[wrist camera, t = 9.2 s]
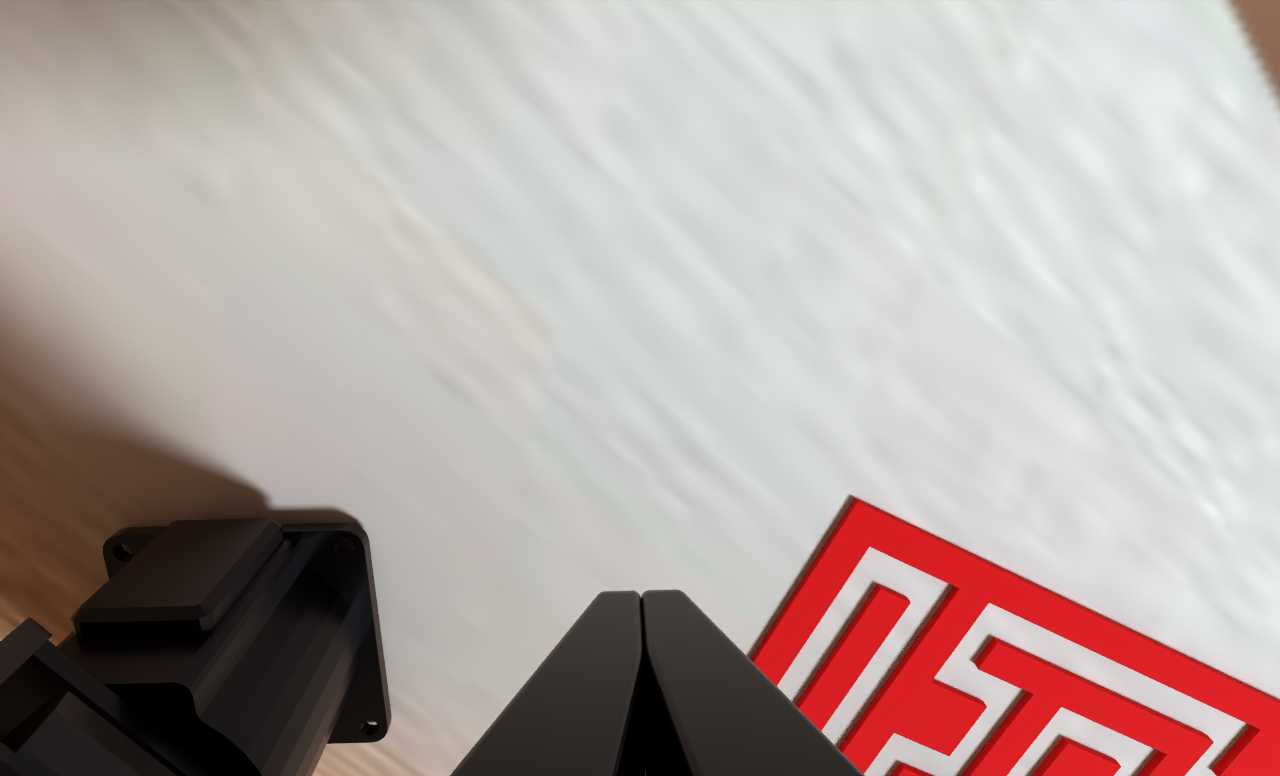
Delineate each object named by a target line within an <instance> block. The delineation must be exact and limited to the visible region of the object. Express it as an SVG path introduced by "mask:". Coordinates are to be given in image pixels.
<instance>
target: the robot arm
mask: <svg viewBox="0 0 1280 776" xmlns="http://www.w3.org/2000/svg"><path fill="white" fill-rule="evenodd" d="M341 539H346V540H349V541H351V542H352V543H353V545H354V547H355V548H354V549H346V548H344V547H343V546H342V545H341V544H340V541H339V540H341ZM122 544H124V545H127V546H129V547H130V548H131V549H132V551H133V552H134V554H130V553H128V552H126V551H125V550H124V549H123V547H122ZM103 556H104V560H105V564H106V568H107V572H108V576H109V581H108V582H107V583H106V584H104V585H103V586H102V587H101V588H100V589H99V590H98V591H97V592H96V593H95V594H93V595H92V596H91V597H90V598H89V599H88V600H87V601H86V602H85V603H84V604H83V605H81V606H80V608H79V609H78V610H77V611H76V612H75V613H74V614H73V616H72V617H71V622H72V626H73V630H74V631H73V632H72V633H71V634H70V635H68V636H67V637H66V638H65V639H64V640H63V641H62V642H61V643H60V644H59V645H58V646H57V647H56V646H55V645H54V644H52V643H51V642H50V641H49V640H48V639H49V638H50V637H51V636H52V634H50V633H49V632H48V631H47V630H45V629H44V628H43V627H42V626H40V625H39V624H38V623H36V622H35V621H34V620H33V619H31V618H30V617H29V618H28V619H27V620H25V621H24V622H23V623H22V624H21V625H19V626H18V627H17V628H16V629H15V630H13V631H12V632H11V633H10V634H9V635H8V636H6V637H5V638H4V639H3V640H2V641H0V776H312V774H313V772H314V770H315V768H316V766H317V764H318V761H319V759H320V757H321V755H322V753H323V751H324V748H325V746H326V744H332V743H368V742H376V741H379V740H381V739H382V738H384V737H385V735H386V734H387V732H388V729H389V726H390V724H391V709H390V701H389V693H388V685H387V678H386V670H385V662H384V654H383V646H382V638H381V630H380V623H379V615H378V607H377V599H376V591H375V583H374V576H373V568H372V560H371V552H370V544H369V539H368V536H367V533H366V532H365V531H364V530H363V529H362V528H361V527H359V526H358V525H356V524H352V523H315V524H280V523H279V522H277V521H275V520H273V519H270V518H266V519H221V520H178V521H174V522H172V523H171V524H170V525H169V526H168V527H134V528H124V529H120V530H119V531H117V532H116V533H115V534H114V535H112V536H111V537H110V538H109V539H108V540H106V542H105V544H104V546H103ZM365 720H373V721H375V722H376V723H377V725H372V724H369V723H367V722H366V721H365ZM450 776H864V774H863V773H862V772H861V771H860V770H859V769H858V768H857V767H856V766H855V765H854V764H853V763H852V762H851V761H850V760H849V759H848V758H847V757H846V756H845V755H844V754H843V753H842V752H841V751H840V750H839V749H838V748H837V747H836V746H835V745H834V744H833V743H832V742H831V741H830V740H829V739H828V738H827V737H826V736H825V735H824V734H823V733H822V732H821V731H820V730H819V729H818V728H817V727H816V726H815V725H814V724H813V723H812V722H811V721H810V720H809V719H808V718H807V717H806V716H805V715H804V714H803V713H802V712H801V711H800V710H799V709H798V708H797V707H796V706H795V705H794V704H793V703H792V702H791V701H790V700H789V699H788V698H787V697H786V696H785V695H784V693H783V692H782V691H781V690H780V689H779V688H778V687H777V686H776V685H775V684H774V683H773V682H772V681H771V680H770V679H769V678H768V677H767V676H766V675H765V674H764V673H763V672H762V671H761V670H760V669H759V668H758V667H757V666H756V665H755V664H754V663H753V662H752V661H751V660H750V659H749V658H748V657H747V656H746V655H745V654H744V653H743V652H742V651H741V650H740V649H739V648H738V647H737V646H736V645H735V644H734V643H733V642H732V641H731V640H730V639H729V638H728V637H727V636H726V635H725V634H724V633H723V632H722V631H721V630H720V629H719V628H718V627H717V626H716V625H715V624H714V623H713V622H712V621H711V620H710V619H709V618H708V617H707V616H706V615H705V614H704V613H703V612H702V611H701V609H700V608H699V607H698V606H697V605H696V604H695V603H694V602H693V601H692V600H691V599H690V598H689V597H688V596H687V595H686V594H685V593H684V592H682V591H680V590H648V591H646V592H644V593H643V594H642V596H641V597H640V595H639V593H637V592H636V591H604V592H601V593H600V594H598V595H597V597H596V598H595V599H594V600H593V601H592V603H591V604H590V605H589V606H588V608H587V609H586V610H585V611H584V612H583V614H582V615H581V616H580V617H579V619H578V620H577V621H576V622H575V623H574V625H573V626H572V627H571V628H570V630H569V631H568V632H567V633H566V634H565V636H564V637H563V638H562V639H561V641H560V642H559V643H558V644H557V645H556V647H555V648H554V649H553V650H552V652H551V653H550V654H549V655H548V656H547V658H546V659H545V660H544V661H543V663H542V664H541V665H540V666H539V667H538V669H537V670H536V671H535V672H534V674H533V675H532V676H531V677H530V678H529V680H528V681H527V682H526V683H525V685H524V686H523V687H522V688H521V689H520V691H519V692H518V693H517V694H516V696H515V697H514V698H513V699H512V700H511V702H510V703H509V704H508V705H507V707H506V708H505V709H504V710H503V711H502V713H501V714H500V715H499V716H498V718H497V719H496V720H495V721H494V722H493V724H492V725H491V726H490V727H489V729H488V730H487V731H486V732H485V733H484V735H483V736H482V737H481V738H480V740H479V741H478V742H477V743H476V744H475V746H474V747H473V748H472V749H471V751H470V752H469V753H468V754H467V755H466V757H465V758H464V759H463V760H462V762H461V763H460V764H459V765H458V766H457V768H456V769H455V770H454V771H453V772H452V774H451V775H450Z"/></svg>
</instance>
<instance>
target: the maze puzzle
mask: <svg viewBox="0 0 1280 776" xmlns="http://www.w3.org/2000/svg"><path fill="white" fill-rule="evenodd" d="M869 546H870V547H872V548H874V549H876V550H878V551H880V552H882V553H885V554H887V555H889V556H891V557H893V558H895V559H897V560H899V561H902V562H904V563H906V564H908V565H910V566H912V567H914V568H917V569H919V570H921V571H923V572H925V573H927V574H929V575H932V576H934V577H936V578H938V579H940V580H942V581H944V582H946V583H949V584H951V585H953V586H954V588H953V589H952V590H951V592H950V593H949V595H948V596H947V597H946V599H945V600H944V602H943V603H942V605H941V606H940V607H939V609H938V610H937V612H936V613H935V614H934V616H933V617H932V619H931V620H930V621H929V623H928V624H927V626H926V627H925V628H924V630H923V631H922V633H921V634H920V636H919V637H918V638H917V640H916V641H915V643H914V644H913V645H912V647H911V648H910V650H909V651H908V652H907V654H906V655H905V657H904V658H903V659H902V661H901V662H900V664H899V665H898V667H897V668H896V669H895V671H894V672H893V674H892V675H891V676H890V678H889V679H888V681H887V682H886V683H885V685H884V686H883V688H882V689H881V690H880V692H879V693H878V695H877V696H876V698H875V699H874V700H873V702H872V703H871V705H870V706H869V707H868V709H867V710H866V712H865V713H864V714H863V716H862V717H861V719H860V720H859V721H858V723H857V724H856V726H855V727H854V729H853V730H852V731H851V733H850V734H849V736H848V737H847V738H846V740H845V741H844V743H843V744H842V745H841V747H840V748H839V750H840V751H841V752H842V753H843V754H844V755H845V756H846V757H847V758H848V759H849V760H850V761H851V762H852V763H853V764H854V765H855V766H856V767H857V768H858V769H859V770H860V771H861V772H862V773H863V774H864V773H865V772H866V770H867V769H868V767H869V766H870V765H871V763H872V762H873V761H874V759H875V758H876V756H877V755H878V754H879V752H880V751H881V750H882V748H883V747H884V746H885V744H886V743H887V741H888V740H889V739H890V737H891V736H892V735H893V733H896V734H898V735H901V736H903V737H905V738H908V739H910V740H912V741H915V742H917V743H919V744H922V745H924V746H926V747H929V748H931V749H933V750H936V751H938V752H940V753H943V754H945V755H947V756H950V755H951V754H952V752H953V751H954V750H955V748H956V747H957V746H958V744H959V743H960V742H961V740H962V739H963V738H964V737H965V735H966V734H967V733H968V731H969V730H970V729H971V727H972V726H973V725H974V723H975V722H976V721H977V720H978V718H979V717H980V716H981V714H982V713H983V712H984V710H985V709H986V708H987V707H986V705H985V703H984V702H983V701H981V700H979V699H977V698H975V697H972V696H970V695H968V694H966V693H963V692H961V691H959V690H957V689H954V688H952V687H950V686H948V685H945V684H943V683H941V682H939V681H936V680H934V679H933V678H934V677H935V676H936V674H937V673H938V672H939V670H940V669H941V667H942V666H943V665H944V663H945V662H946V661H947V659H948V658H949V657H950V655H951V654H952V652H953V651H954V650H955V648H956V647H957V646H958V644H959V643H960V641H961V640H962V639H963V637H964V636H965V635H966V633H967V632H968V631H969V629H970V628H971V626H972V625H973V624H974V622H975V621H976V620H977V618H978V617H979V615H980V614H981V613H982V611H983V610H984V609H985V607H986V606H987V605H988V603H991V604H993V605H996V606H998V607H1000V608H1002V609H1004V610H1006V611H1008V612H1010V613H1013V614H1015V615H1017V616H1019V617H1021V618H1023V619H1025V620H1028V621H1030V622H1032V623H1034V624H1036V625H1038V626H1040V627H1043V628H1045V629H1047V630H1049V631H1051V632H1053V633H1055V634H1057V635H1060V636H1062V637H1064V638H1066V639H1068V640H1070V641H1072V642H1075V643H1077V644H1079V645H1081V646H1083V647H1085V648H1087V649H1089V650H1092V651H1094V652H1096V653H1098V654H1100V655H1102V656H1104V657H1107V658H1109V659H1111V660H1113V661H1115V662H1117V663H1119V664H1121V665H1124V666H1126V667H1128V668H1130V669H1132V670H1134V671H1136V672H1139V673H1141V674H1143V675H1145V676H1147V677H1149V678H1151V679H1154V680H1156V681H1158V682H1160V683H1162V684H1164V685H1166V686H1168V687H1171V688H1173V689H1175V690H1177V691H1179V692H1181V693H1183V694H1186V695H1188V696H1190V697H1192V698H1194V699H1196V700H1198V701H1200V702H1203V703H1205V704H1207V705H1209V706H1211V707H1213V708H1215V709H1218V710H1220V711H1222V712H1224V713H1226V714H1228V715H1230V716H1233V717H1235V718H1237V719H1239V720H1241V721H1243V722H1245V723H1247V724H1250V725H1252V726H1251V727H1250V728H1249V729H1248V730H1247V731H1246V732H1245V733H1244V735H1243V736H1242V737H1241V738H1240V739H1239V740H1238V741H1237V743H1236V744H1235V745H1234V746H1233V747H1232V748H1231V749H1230V750H1229V752H1228V753H1227V754H1226V755H1225V756H1224V757H1223V758H1222V760H1221V761H1220V762H1219V763H1218V764H1217V765H1216V766H1215V767H1214V769H1213V770H1212V771H1213V772H1214V773H1215V774H1216V776H1280V700H1278V699H1275V698H1273V697H1271V696H1269V695H1267V694H1265V693H1263V692H1261V691H1259V690H1257V689H1254V688H1252V687H1250V686H1248V685H1246V684H1244V683H1242V682H1240V681H1238V680H1236V679H1233V678H1231V677H1229V676H1227V675H1225V674H1223V673H1221V672H1219V671H1217V670H1215V669H1212V668H1210V667H1208V666H1206V665H1204V664H1202V663H1200V662H1198V661H1196V660H1194V659H1192V658H1189V657H1187V656H1185V655H1183V654H1181V653H1179V652H1177V651H1175V650H1173V649H1171V648H1168V647H1166V646H1164V645H1162V644H1160V643H1158V642H1156V641H1154V640H1152V639H1150V638H1147V637H1145V636H1143V635H1141V634H1139V633H1137V632H1135V631H1133V630H1131V629H1129V628H1127V627H1124V626H1122V625H1120V624H1118V623H1116V622H1114V621H1112V620H1110V619H1108V618H1106V617H1103V616H1101V615H1099V614H1097V613H1095V612H1093V611H1091V610H1089V609H1087V608H1085V607H1082V606H1080V605H1078V604H1076V603H1074V602H1072V601H1070V600H1068V599H1066V598H1064V597H1061V596H1059V595H1057V594H1055V593H1053V592H1051V591H1049V590H1047V589H1045V588H1043V587H1041V586H1038V585H1036V584H1034V583H1032V582H1030V581H1028V580H1026V579H1024V578H1022V577H1020V576H1017V575H1015V574H1013V573H1011V572H1009V571H1007V570H1005V569H1003V568H1001V567H999V566H996V565H994V564H992V563H990V562H988V561H986V560H984V559H982V558H980V557H978V556H976V555H973V554H971V553H969V552H967V551H965V550H963V549H961V548H959V547H957V546H955V545H952V544H950V543H948V542H946V541H944V540H942V539H940V538H938V537H936V536H934V535H931V534H929V533H927V532H925V531H923V530H921V529H919V528H917V527H915V526H913V525H910V524H908V523H906V522H904V521H902V520H900V519H898V518H896V517H894V516H892V515H890V514H887V513H885V512H883V511H881V510H879V509H877V508H875V507H873V506H871V505H869V504H866V503H864V502H862V501H860V500H858V499H856V498H855V500H854V501H853V503H852V504H851V506H850V507H849V509H848V510H847V512H846V513H845V515H844V517H843V518H842V520H841V521H840V523H839V524H838V526H837V527H836V529H835V531H834V532H833V534H832V535H831V537H830V538H829V540H828V541H827V543H826V544H825V546H824V548H823V549H822V551H821V552H820V554H819V555H818V557H817V558H816V560H815V562H814V563H813V565H812V566H811V568H810V569H809V571H808V572H807V574H806V575H805V577H804V579H803V580H802V582H801V583H800V585H799V586H798V588H797V589H796V591H795V593H794V594H793V596H792V597H791V599H790V600H789V602H788V603H787V605H786V606H785V608H784V610H783V611H782V613H781V614H780V616H779V617H778V619H777V620H776V622H775V624H774V625H773V627H772V628H771V630H770V631H769V633H768V634H767V636H766V637H765V639H764V641H763V642H762V644H761V645H760V647H759V648H758V650H757V651H756V653H755V654H754V656H753V658H752V659H751V661H752V662H753V663H754V664H755V665H756V666H757V667H758V668H759V669H760V670H761V671H762V672H763V673H764V674H765V675H766V676H767V677H768V678H769V679H770V680H771V681H772V682H773V683H774V684H775V685H776V686H777V685H778V683H779V682H780V680H781V679H782V677H783V676H784V674H785V673H786V671H787V670H788V668H789V667H790V665H791V664H792V662H793V661H794V659H795V658H796V656H797V655H798V653H799V652H800V650H801V649H802V647H803V646H804V644H805V643H806V641H807V640H808V638H809V637H810V635H811V634H812V632H813V631H814V629H815V628H816V626H817V625H818V623H819V622H820V620H821V619H822V617H823V616H824V614H825V613H826V611H827V610H828V608H829V607H830V605H831V604H832V602H833V601H834V599H835V598H836V596H837V595H838V593H839V592H840V590H841V589H842V587H843V586H844V584H845V583H846V581H847V580H848V578H849V577H850V575H851V574H852V572H853V571H854V569H855V568H856V566H857V565H858V563H859V562H860V560H861V559H862V557H863V555H864V554H865V552H866V551H867V549H868V548H869ZM909 604H910V601H909V599H908V598H907V597H905V596H903V595H901V594H898V593H896V592H894V591H892V590H890V589H887V588H885V587H883V586H881V585H879V584H878V585H877V587H876V588H875V590H874V591H873V592H872V594H871V595H870V597H869V598H868V600H867V601H866V603H865V604H864V606H863V607H862V609H861V610H860V612H859V613H858V615H857V616H856V618H855V619H854V621H853V622H852V623H851V625H850V626H849V628H848V629H847V631H846V632H845V634H844V635H843V637H842V638H841V640H840V641H839V643H838V644H837V646H836V647H835V649H834V650H833V652H832V653H831V654H830V656H829V657H828V659H827V660H826V662H825V663H824V665H823V666H822V668H821V669H820V671H819V672H818V674H817V675H816V677H815V678H814V680H813V681H812V683H811V684H810V685H809V687H808V688H807V690H806V691H805V693H804V694H803V696H802V697H801V699H800V700H799V702H798V703H797V705H796V707H797V708H798V709H799V710H800V711H801V712H802V713H803V714H804V715H805V716H806V717H807V718H808V719H809V720H810V721H811V722H812V723H813V724H814V725H815V726H816V727H817V728H818V729H819V730H820V731H821V730H822V729H823V728H824V726H825V725H826V723H827V722H828V720H829V719H830V718H831V716H832V715H833V713H834V712H835V710H836V709H837V708H838V706H839V705H840V703H841V702H842V700H843V699H844V697H845V696H846V695H847V693H848V692H849V690H850V689H851V687H852V686H853V685H854V683H855V682H856V680H857V679H858V677H859V676H860V675H861V673H862V672H863V670H864V669H865V667H866V666H867V665H868V663H869V662H870V660H871V659H872V657H873V656H874V655H875V653H876V652H877V650H878V649H879V647H880V646H881V644H882V643H883V642H884V640H885V639H886V637H887V636H888V634H889V633H890V632H891V630H892V629H893V627H894V626H895V624H896V623H897V622H898V620H899V619H900V617H901V616H902V614H903V613H904V612H905V610H906V609H907V607H908V606H909ZM975 665H976V667H977V668H978V669H979V670H981V671H983V672H986V673H988V674H990V675H992V676H994V677H997V678H999V679H1001V680H1003V681H1006V682H1008V683H1010V684H1012V685H1014V686H1017V687H1019V688H1021V689H1023V690H1025V691H1027V693H1026V694H1025V695H1024V696H1023V698H1022V699H1021V700H1020V702H1019V703H1018V704H1017V705H1016V707H1015V708H1014V709H1013V711H1012V712H1011V713H1010V715H1009V716H1008V717H1007V718H1006V720H1005V721H1004V722H1003V724H1002V725H1001V726H1000V727H999V729H998V730H997V731H996V733H995V734H994V735H993V737H992V738H991V739H990V740H989V742H988V743H987V744H986V746H985V747H984V748H983V749H982V751H981V752H980V753H979V755H978V756H977V757H976V759H975V760H974V761H973V762H972V764H971V765H970V766H969V768H968V769H967V770H966V771H965V773H964V774H963V775H962V776H1007V774H1008V773H1009V772H1010V771H1011V769H1012V768H1013V767H1014V766H1015V764H1016V763H1017V762H1018V761H1019V759H1020V758H1021V757H1022V756H1023V754H1024V753H1025V752H1026V751H1027V749H1028V748H1029V747H1030V745H1031V744H1032V743H1033V742H1034V740H1035V739H1036V738H1037V737H1038V735H1039V734H1040V733H1041V732H1042V730H1043V729H1044V728H1045V727H1046V725H1047V724H1048V723H1049V722H1050V720H1051V719H1052V718H1053V717H1054V715H1055V714H1056V713H1057V712H1058V710H1059V709H1060V708H1061V707H1063V708H1065V709H1068V710H1070V711H1072V712H1074V713H1076V714H1079V715H1081V716H1083V717H1085V718H1088V719H1090V720H1092V721H1094V722H1096V723H1099V724H1101V725H1103V726H1105V727H1107V728H1110V729H1112V730H1114V731H1116V732H1119V733H1121V734H1123V735H1125V736H1127V737H1130V738H1132V739H1134V740H1136V741H1138V742H1141V743H1143V744H1145V745H1147V746H1150V747H1152V748H1154V749H1156V750H1158V752H1157V754H1156V755H1155V756H1154V757H1153V758H1152V760H1151V761H1150V762H1149V763H1148V764H1147V765H1146V767H1145V768H1144V769H1143V770H1142V771H1141V772H1140V774H1139V775H1138V776H1185V775H1186V773H1187V772H1188V771H1189V770H1190V769H1191V768H1192V767H1193V765H1194V764H1195V763H1196V762H1197V761H1198V760H1199V759H1200V757H1201V756H1202V755H1203V754H1204V753H1205V752H1206V751H1207V749H1208V748H1209V747H1210V746H1211V745H1212V744H1213V743H1214V742H1213V741H1212V740H1211V739H1210V738H1209V737H1208V735H1205V734H1203V733H1201V732H1199V731H1197V730H1195V729H1192V728H1190V727H1188V726H1186V725H1184V724H1181V723H1179V722H1177V721H1175V720H1173V719H1171V718H1168V717H1166V716H1164V715H1162V714H1160V713H1158V712H1155V711H1153V710H1151V709H1149V708H1147V707H1144V706H1142V705H1140V704H1138V703H1136V702H1134V701H1131V700H1129V699H1127V698H1125V697H1123V696H1121V695H1118V694H1116V693H1114V692H1112V691H1110V690H1107V689H1105V688H1103V687H1101V686H1099V685H1097V684H1094V683H1092V682H1090V681H1088V680H1086V679H1083V678H1081V677H1079V676H1077V675H1075V674H1073V673H1070V672H1068V671H1066V670H1064V669H1062V668H1060V667H1057V666H1055V665H1053V664H1051V663H1049V662H1046V661H1044V660H1042V659H1040V658H1038V657H1036V656H1033V655H1031V654H1029V653H1027V652H1025V651H1022V650H1020V649H1018V648H1016V647H1014V646H1012V645H1009V644H1007V643H1005V642H1003V641H1001V640H999V639H996V638H993V639H992V641H991V642H990V643H989V645H988V646H987V647H986V649H985V650H984V651H983V653H982V654H981V655H980V657H979V658H978V659H977V661H976V662H975ZM1120 767H1121V766H1120V765H1119V763H1118V762H1117V761H1116V760H1115V759H1113V758H1110V757H1108V756H1106V755H1104V754H1101V753H1099V752H1097V751H1094V750H1092V749H1090V748H1088V747H1085V746H1083V745H1081V744H1079V743H1076V742H1074V741H1072V740H1070V739H1067V738H1065V737H1063V739H1062V740H1061V741H1060V742H1059V744H1058V745H1057V746H1056V747H1055V749H1054V750H1053V751H1052V752H1051V754H1050V755H1049V756H1048V757H1047V759H1046V760H1045V761H1044V762H1043V764H1042V765H1041V766H1040V767H1039V768H1038V770H1037V771H1036V772H1035V773H1034V775H1033V776H1114V775H1115V773H1116V772H1117V771H1118V770H1119V769H1120ZM891 776H932V775H930V774H927V773H925V772H923V771H920V770H918V769H916V768H913V767H911V766H908V765H906V764H904V763H900V765H899V766H898V767H897V769H896V770H895V771H894V773H893V774H892V775H891Z"/></svg>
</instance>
